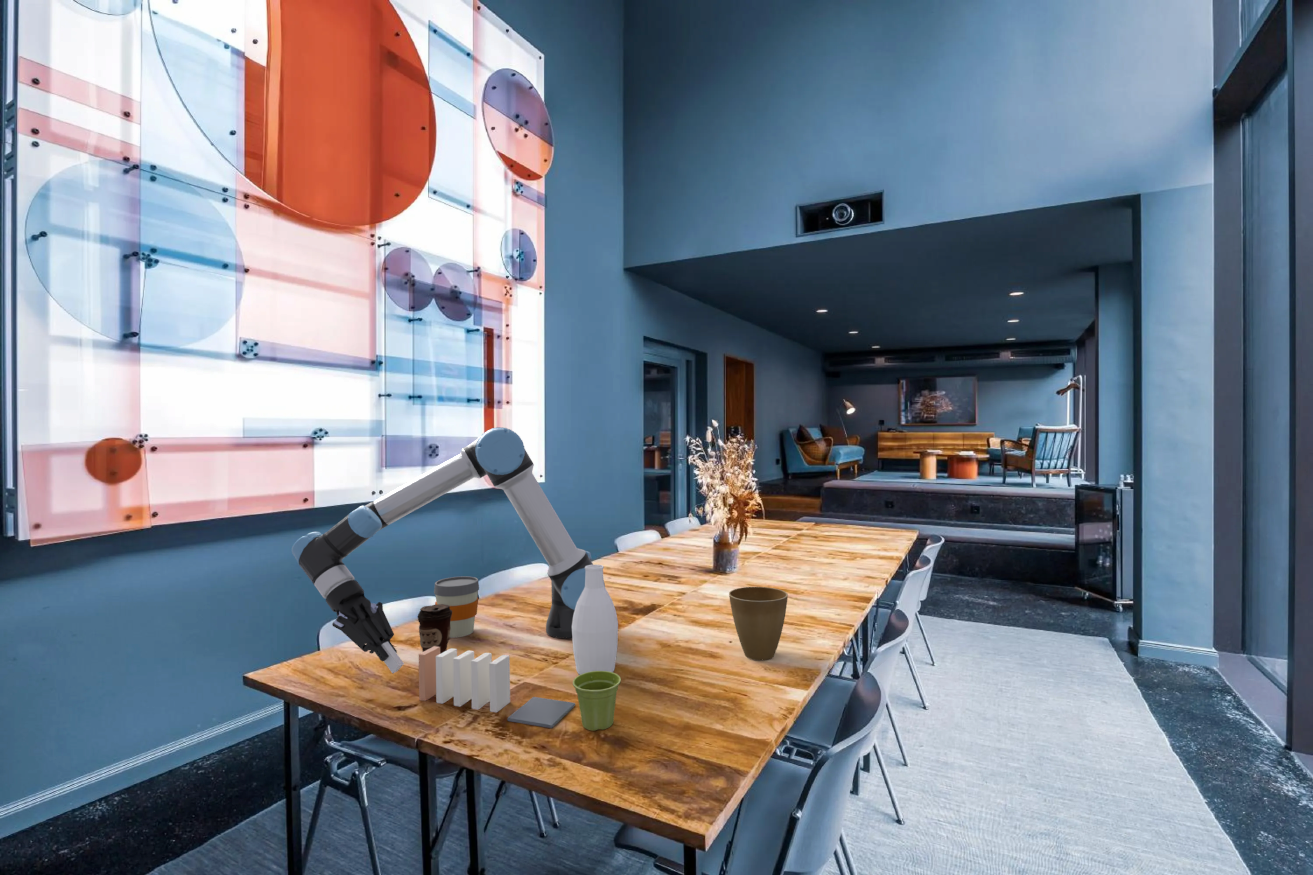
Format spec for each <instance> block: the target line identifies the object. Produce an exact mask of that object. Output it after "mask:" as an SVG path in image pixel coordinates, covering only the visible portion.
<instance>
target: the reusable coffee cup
mask: <svg viewBox="0 0 1313 875" xmlns="http://www.w3.org/2000/svg"><path fill="white" fill-rule="evenodd" d="M479 590H480V582H479V579H478V578H477V577H475V576H466V575H465V576H464V575H462V576H453V577H446V578H442V579H439V580H437V581H436V582H434V590H433V594H434V595H435V602H434V603H435V604H434V605H438V604H446V605H449V606H450V607H449V608H450V610H452V616H451V621H450V626H451V630H450V639H451V638H452V639H453V638H462V637H463V638H464V637H466V636H469V635H471V634H472V633H474V629H475V628H474V627H475V620H476V615H477V614H478V608H479V607H478V606H479V597H478V592H479Z"/></svg>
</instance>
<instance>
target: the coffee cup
mask: <svg viewBox="0 0 1313 875" xmlns="http://www.w3.org/2000/svg"><path fill="white" fill-rule="evenodd" d="M449 607H450V606H449V605H446V604H438V605H435V604H431V605H424V606H422V607H421V608H420V609H419V610H420V611H419V613H418V614H417V621H418V623H419V626H418V632H419V642H420V647H421V649H422V652H424V651H426V650H428V649H430V648H432V647H434V646H437V647H440V654H441V653H443V652H445V651H447V650H448V649H447V648H448V643H449V641H450V639H451V638H450V630H451V626H450V621H451V616H452V610H450V608H449Z"/></svg>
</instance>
